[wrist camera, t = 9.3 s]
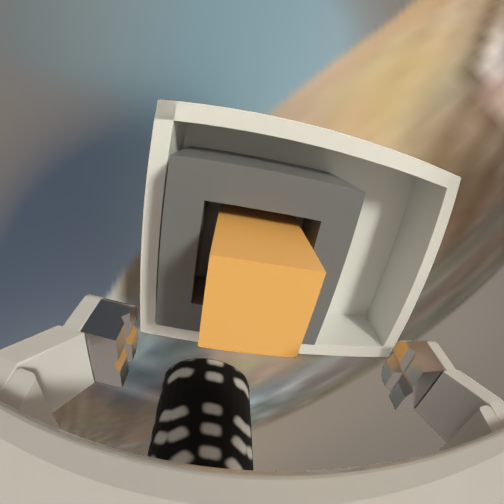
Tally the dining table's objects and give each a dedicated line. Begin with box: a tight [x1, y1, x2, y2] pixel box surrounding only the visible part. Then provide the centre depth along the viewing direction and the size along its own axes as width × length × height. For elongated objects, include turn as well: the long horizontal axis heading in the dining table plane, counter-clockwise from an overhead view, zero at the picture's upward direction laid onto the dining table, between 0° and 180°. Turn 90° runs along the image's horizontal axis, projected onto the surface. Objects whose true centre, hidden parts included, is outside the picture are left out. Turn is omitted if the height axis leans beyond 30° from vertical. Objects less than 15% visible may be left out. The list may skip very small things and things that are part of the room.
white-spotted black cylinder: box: [148, 359, 253, 471], centre depth 18 cm, size 8×8×20 cm
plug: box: [198, 203, 326, 358], centre depth 14 cm, size 4×4×7 cm
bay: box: [140, 100, 461, 357], centre depth 18 cm, size 18×14×7 cm
